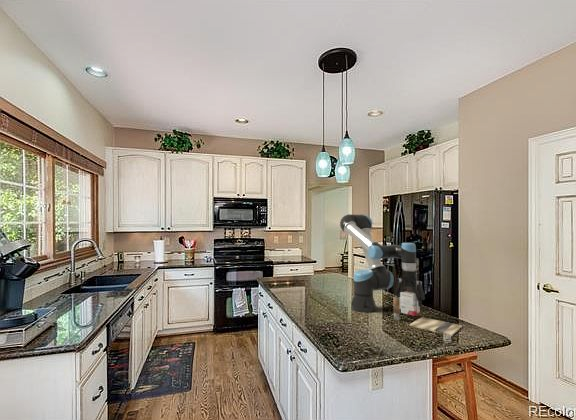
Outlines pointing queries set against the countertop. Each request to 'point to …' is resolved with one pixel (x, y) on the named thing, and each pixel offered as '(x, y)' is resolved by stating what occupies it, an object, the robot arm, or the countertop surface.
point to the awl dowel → (396, 308)
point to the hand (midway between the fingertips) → (409, 310)
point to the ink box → (408, 303)
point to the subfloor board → (436, 326)
